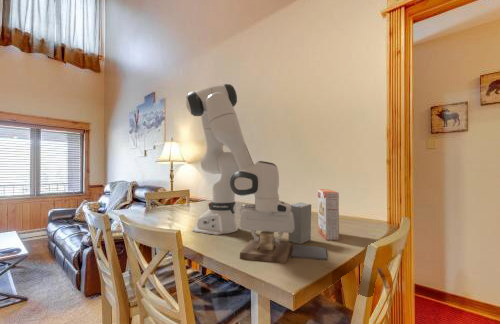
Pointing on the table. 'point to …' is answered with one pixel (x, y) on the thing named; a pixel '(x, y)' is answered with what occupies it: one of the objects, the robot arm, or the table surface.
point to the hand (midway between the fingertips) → (266, 242)
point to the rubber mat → (309, 252)
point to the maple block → (267, 240)
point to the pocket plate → (266, 252)
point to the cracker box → (328, 214)
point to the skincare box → (301, 223)
